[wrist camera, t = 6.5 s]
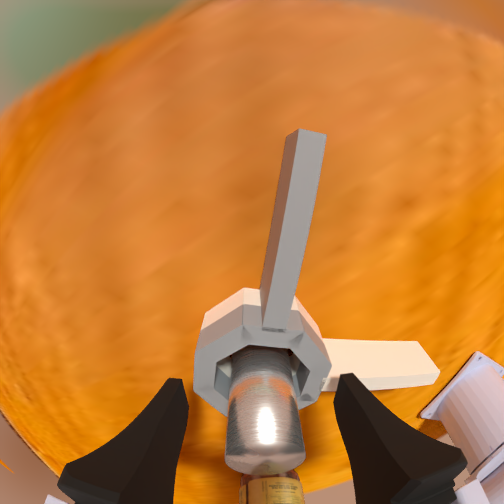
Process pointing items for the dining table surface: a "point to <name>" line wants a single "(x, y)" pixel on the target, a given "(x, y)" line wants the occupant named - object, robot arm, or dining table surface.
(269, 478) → the sauce bottle
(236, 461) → the hinge pin
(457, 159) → the dining table surface
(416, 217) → the dining table surface
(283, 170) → the hinge
